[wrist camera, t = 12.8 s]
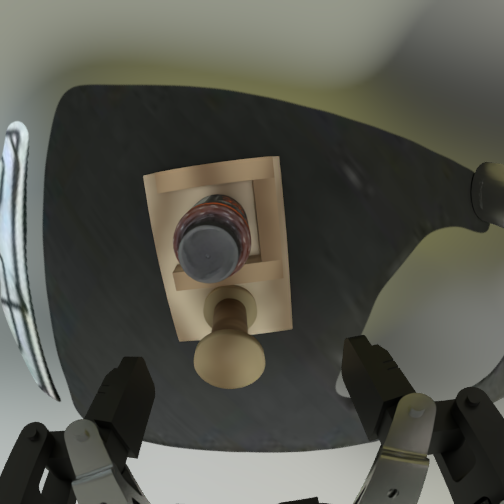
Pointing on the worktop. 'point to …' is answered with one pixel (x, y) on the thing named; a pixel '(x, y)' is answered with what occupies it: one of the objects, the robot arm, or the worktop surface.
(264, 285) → the notched board
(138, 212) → the worktop surface
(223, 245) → the supplement bottle
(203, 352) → the bobbin post
